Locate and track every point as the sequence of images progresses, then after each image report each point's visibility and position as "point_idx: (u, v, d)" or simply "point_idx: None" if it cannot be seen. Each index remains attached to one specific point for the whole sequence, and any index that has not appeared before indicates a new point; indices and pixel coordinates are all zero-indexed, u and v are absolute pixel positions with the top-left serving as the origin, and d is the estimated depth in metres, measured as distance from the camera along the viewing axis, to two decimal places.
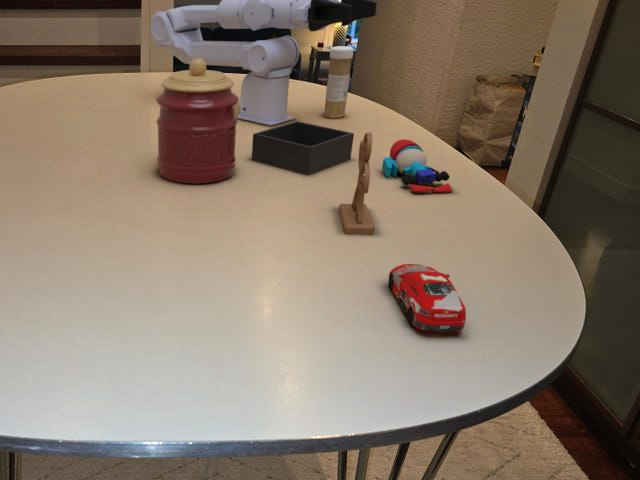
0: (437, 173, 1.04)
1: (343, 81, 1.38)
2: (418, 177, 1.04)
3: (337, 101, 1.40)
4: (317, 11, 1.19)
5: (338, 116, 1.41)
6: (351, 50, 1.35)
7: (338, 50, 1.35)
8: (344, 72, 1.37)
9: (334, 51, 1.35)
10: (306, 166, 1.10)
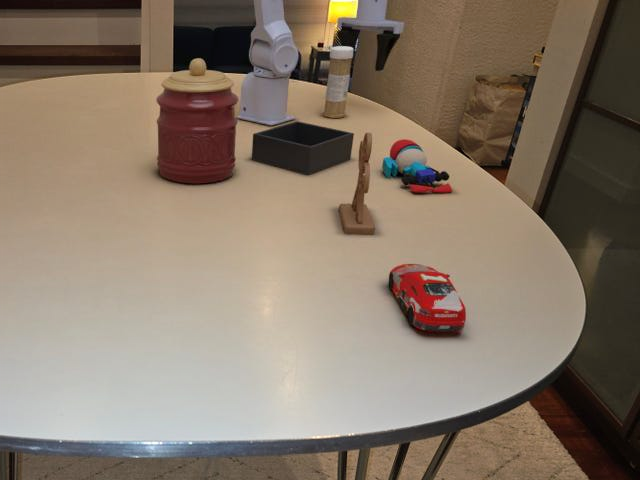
0: (437, 173, 1.04)
1: (343, 81, 1.38)
2: (418, 177, 1.04)
3: (337, 101, 1.40)
4: None
5: (338, 116, 1.41)
6: (351, 50, 1.35)
7: (338, 50, 1.35)
8: (344, 72, 1.37)
9: (334, 51, 1.35)
10: (306, 166, 1.10)
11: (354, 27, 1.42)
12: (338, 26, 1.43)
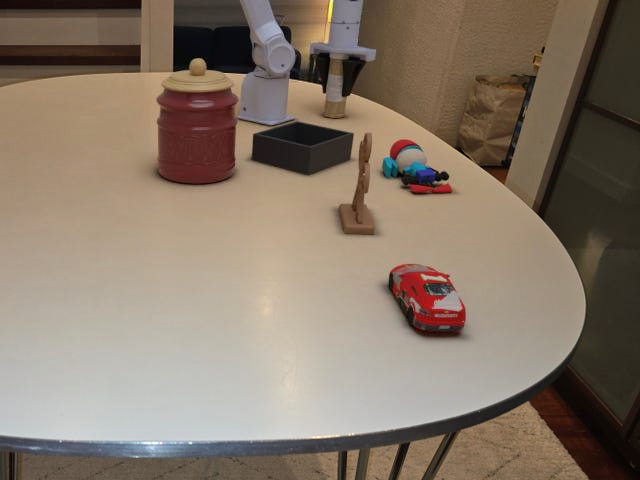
0: (437, 173, 1.04)
1: None
2: (418, 177, 1.04)
3: (337, 101, 1.40)
4: None
5: (338, 116, 1.41)
6: None
7: None
8: None
9: None
10: (306, 166, 1.10)
11: (326, 53, 1.39)
12: (310, 52, 1.41)
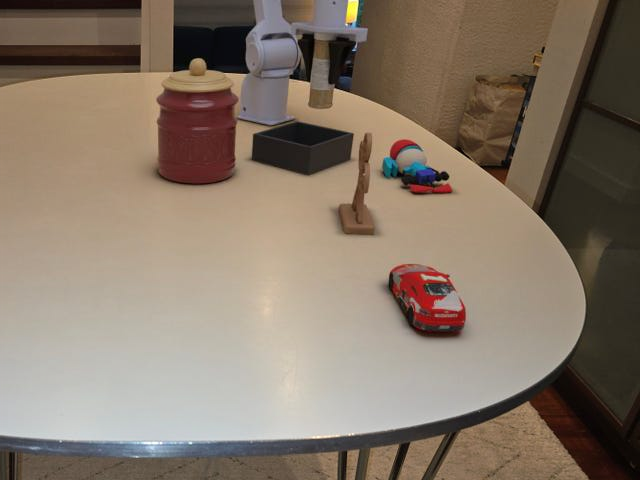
0: (437, 173, 1.04)
1: None
2: (418, 177, 1.04)
3: (323, 89, 1.21)
4: None
5: (325, 107, 1.23)
6: None
7: None
8: None
9: None
10: (306, 166, 1.10)
11: None
12: (292, 33, 1.22)
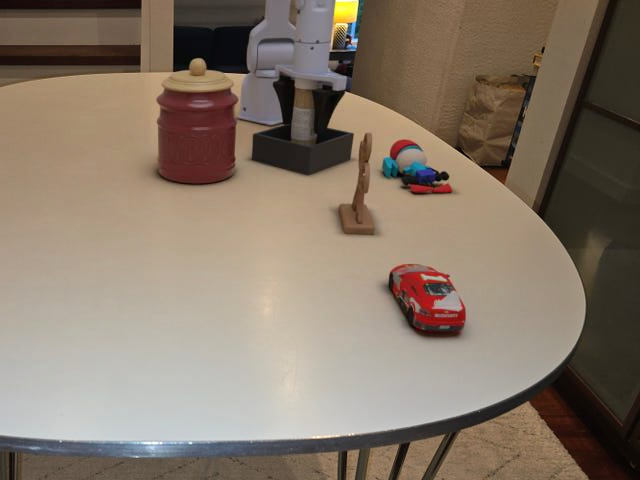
0: (437, 173, 1.04)
1: (309, 116, 1.12)
2: (418, 177, 1.04)
3: (302, 140, 1.14)
4: None
5: None
6: None
7: None
8: (311, 106, 1.11)
9: (298, 79, 1.10)
10: (306, 166, 1.10)
11: (293, 78, 1.13)
12: (276, 75, 1.15)
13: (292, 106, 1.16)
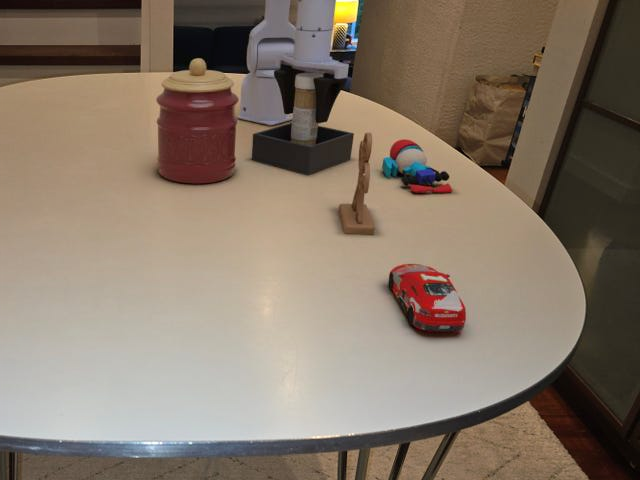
0: (437, 173, 1.04)
1: (309, 116, 1.12)
2: (418, 177, 1.04)
3: (302, 140, 1.14)
4: None
5: None
6: None
7: (302, 78, 1.09)
8: (311, 106, 1.11)
9: (298, 79, 1.10)
10: (306, 166, 1.10)
11: (294, 66, 1.12)
12: (277, 64, 1.14)
13: (293, 95, 1.15)
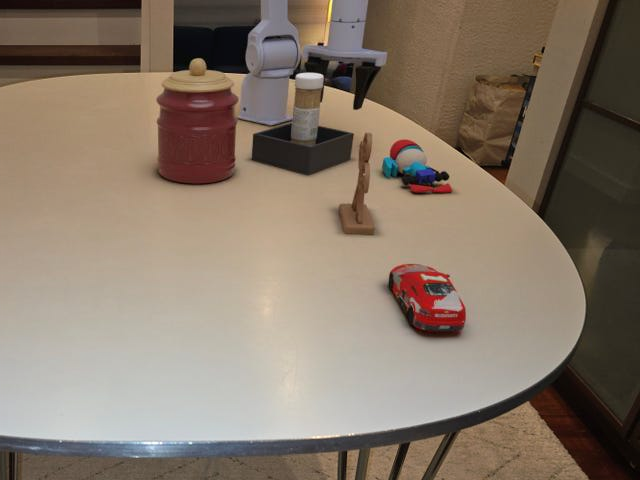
0: (437, 173, 1.04)
1: (309, 116, 1.12)
2: (418, 177, 1.04)
3: (302, 140, 1.14)
4: None
5: None
6: (319, 79, 1.09)
7: (302, 78, 1.09)
8: (311, 106, 1.11)
9: (298, 79, 1.10)
10: (306, 166, 1.10)
11: (324, 57, 1.17)
12: (304, 56, 1.18)
13: None
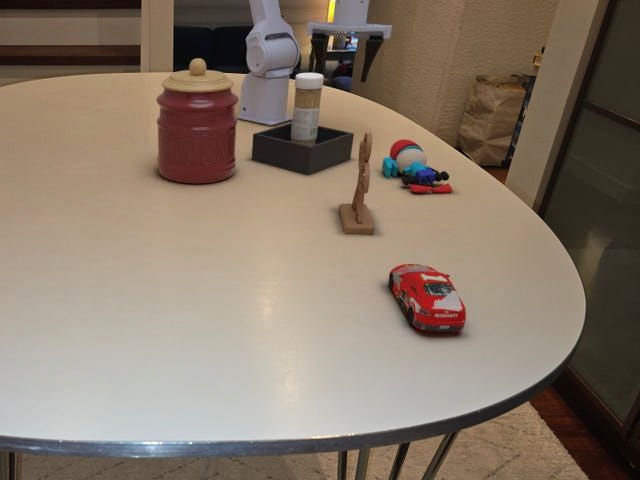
0: (437, 173, 1.04)
1: (309, 116, 1.12)
2: (418, 177, 1.04)
3: (302, 140, 1.14)
4: None
5: None
6: (319, 79, 1.09)
7: (302, 78, 1.09)
8: (311, 106, 1.11)
9: (298, 79, 1.10)
10: (306, 166, 1.10)
11: (328, 34, 1.20)
12: (308, 33, 1.21)
13: (324, 61, 1.24)
